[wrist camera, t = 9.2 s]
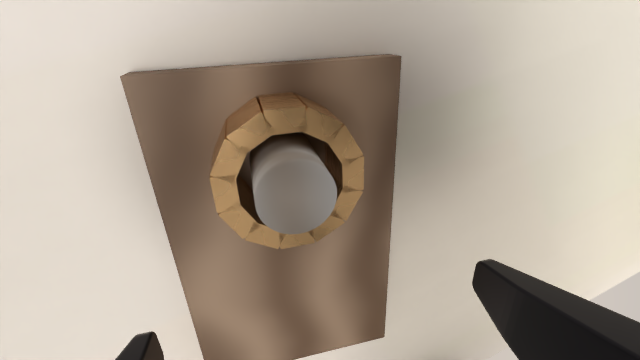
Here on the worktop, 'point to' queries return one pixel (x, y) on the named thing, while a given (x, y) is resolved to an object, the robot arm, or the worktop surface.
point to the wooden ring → (256, 127)
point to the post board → (253, 272)
